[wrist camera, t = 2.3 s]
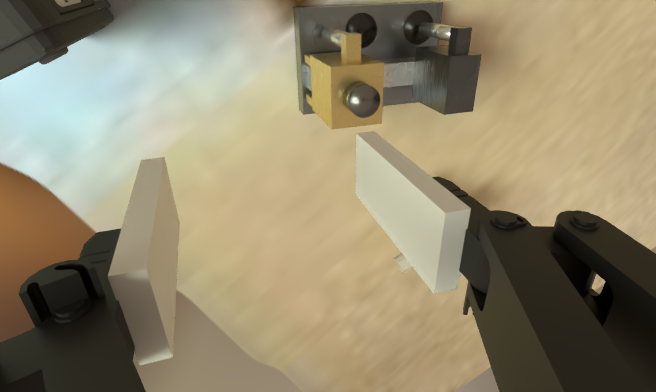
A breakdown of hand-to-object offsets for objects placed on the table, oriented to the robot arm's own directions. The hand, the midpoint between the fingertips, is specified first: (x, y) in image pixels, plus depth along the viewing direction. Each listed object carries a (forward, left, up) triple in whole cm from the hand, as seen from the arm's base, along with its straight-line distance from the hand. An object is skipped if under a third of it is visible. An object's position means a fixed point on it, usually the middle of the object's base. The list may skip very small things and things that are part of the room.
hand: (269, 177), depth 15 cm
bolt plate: (-12, -1, -19) cm, 22 cm away
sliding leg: (-7, -1, -17) cm, 19 cm away
